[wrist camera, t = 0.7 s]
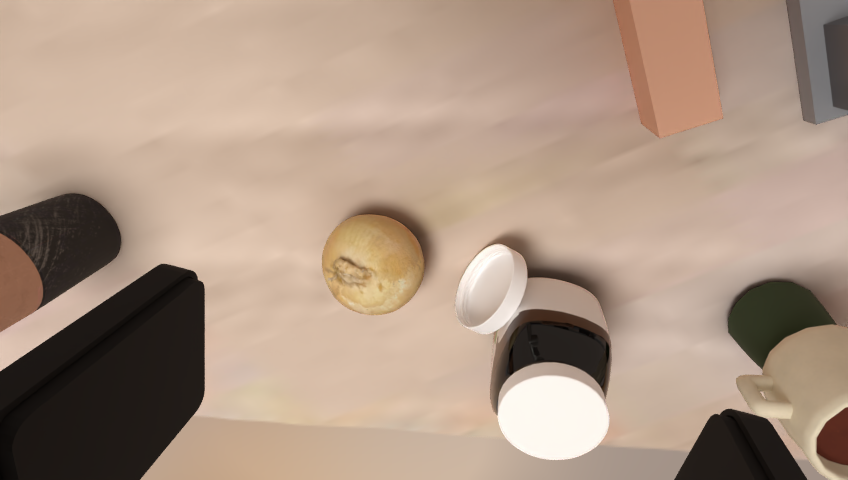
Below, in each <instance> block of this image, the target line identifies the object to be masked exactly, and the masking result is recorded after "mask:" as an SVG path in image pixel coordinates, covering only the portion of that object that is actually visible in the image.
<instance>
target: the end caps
mask: <svg viewBox="0 0 848 480" xmlns="http://www.w3.org/2000/svg"><path fill="white" fill-rule="evenodd" d="M823 28H824V37H825V45H826V53H827V61H828V69H829V77H830V86H831V94H832V102H833V107H836V108H840V109H844V110H848V16H846V17H843V18H840V19H838V20H835V21H832V22H829V23H827V24H824V25H823Z"/></svg>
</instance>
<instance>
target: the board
mask: <svg viewBox="0 0 848 480" xmlns="http://www.w3.org/2000/svg"><path fill="white" fill-rule="evenodd" d="M786 1H787V8H788V15H789V22H790V29H791V36H792V43H793V50H794V57H795V64H796V71H797V78H798V85H799V92H800V99H801V106H802V113H803V120H804V121H807V122H810V123H813V124H816V125H817V124H820V123H823V122H826V121H830V120H833V119H836V118H839V117H842V116H845V115H848V110H844V109H840V108H836V107H833V102H832V94H831V86H830V77H829V69H828V61H827V53H826V45H825V37H824V28H823V25H824V24H827V23H829V22H832V21H835V20H838V19H840V18H843V17H846V16H848V0H786Z"/></svg>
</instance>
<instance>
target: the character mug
mask: <svg viewBox="0 0 848 480" xmlns="http://www.w3.org/2000/svg"><path fill="white" fill-rule="evenodd" d="M728 332H729V334H730V335H731V336H732V337H733V339H734V340H735V341H736V342H737V343H738V345H739V346H740V347H741V348H742V349H743V350H744V351H745V352H746V354H747V355H748V356H749V357H750V358H751V359H752V360H753V361H754V362H755V363H756V364H757V365H758V366H759V367H760V368H761V369H762V370H763V375H742V376H739V377H738V378H737V379H736V384H737V387H738V389H739V391H740V393H741V394H742V396H743V397H744V399H745V401H746V402H747V404H748V406H749V407H750V409H751V410H752V411H753V412H754V413H755V414H756V415H757V416H761V417H765V418H778V420H779V421H780V422H781V424H782V425H783V427H784V429H785V430H786V432H787V433H788V435H789V436H790V437H791V439H792V440H793V441H794V442H795V443H796V444H797V445H798V446H799V447H800V448H801V449H802V451H803V452H804V454H805V455H806V457H807V458H808V460H809V461H810V463H811V464H812V466H813V467H814V468H815V469H816V470H817V471H818V473H820V474H821V475H823V476H824V477H826V478H828V479H829V480H848V327H843V326H838V325H837V324H836V323H835V322H834V320H833V319H832V317H831V316H830V315H829V313H828V312H827V311H826V309H825V308H824V307H823V306H822V304H821V303H820V302H819V301H818V299H817V298H816V297H815V296H814V295H813V294H812V292H811V291H810V290H808V289H805V288H803V287H801V286H799V285H797V284H794V283H792V282H769V283H767V284H764V285H762V286H759V287H756V288H754V289H751V290H750V291H749V292H748V293H747V294H745V295H744V296H743V297H742V298H741V299H740V300H739V301H738V302H737V303H736V304H735V306H734V308H733V310H732V312H731V314H730V316H729V318H728ZM760 391H763V392H764V395H765V398H766V399H765V398H764V397H763V396H762V394H761V393H760Z"/></svg>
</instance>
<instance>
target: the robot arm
mask: <svg viewBox="0 0 848 480" xmlns="http://www.w3.org/2000/svg"><path fill="white" fill-rule="evenodd" d="M204 391H205V289H204V284H203V282H201V281H199V280H198V278H197V275H196V273H195V272H194V271H191V270H187V269H184V268H180V267H176V266H172V265H168V264H161V265H158V266H157V267H155V268H154V269H152V270H151V271H149V272H148V273H146V274H145V275H143V276H142V277H140V278H139V279H137V280H136V281H134V282H133V283H131V284H130V285H128V286H127V287H125V288H124V289H122V290H121V291H119V292H118V293H116V294H115V295H113V296H112V297H110V298H109V299H107V300H106V301H104V302H103V303H101V304H100V305H98V306H97V307H95V308H94V309H92V310H91V311H89V312H88V313H87V314H85V315H84V316H82V317H81V318H79V319H78V320H76V321H75V322H73V323H72V324H70V325H69V326H67V327H66V328H64V329H63V330H61V331H60V332H58V333H57V334H55V335H54V336H52V337H51V338H49V339H48V340H46V341H45V342H43V343H42V344H40V345H39V346H37V347H36V348H34V349H33V350H31V351H30V352H28V353H27V354H25V355H24V356H22V357H21V358H19V359H18V360H16V361H15V362H14V363H12V364H11V365H9V366H8V367H6V368H5V369H3V370H2V371H0V480H140V479H141V478H142V477H143V475H144V474H145V473H146V472H147V470H148V469H149V468H150V467H151V466H152V464H153V463H154V462H155V461H156V459H157V458H158V457H159V456H160V455H161V453H162V452H163V451H164V450H165V449H166V447H167V446H168V445H169V444H170V443H171V441H172V440H173V439H174V438H175V437H176V435H177V434H178V433H179V432H180V431H181V429H182V428H183V427H184V426H185V424H186V423H187V422H188V421H189V420H190V418H191V417H192V416H193V415H194V414H195V412H196V411H197V410H198V408H199V406H200V405H201V402H202V400H203V397H204ZM674 480H807V478H806V477H805V475H804V474H803V472H802V471H801V469H800V467H799V466H798V464H797V463H796V461H795V460H794V458H793V456H792V455H791V453H790V452H789V450H788V449H787V447H786V446H785V444H784V442H783V441H782V439H781V438H780V436H779V435H778V433H777V432H776V430H775V429H774V427H773V425H772V424H771V423H770V422H769V421H768V419H766V418H763V417H760V416H757V415H753V414H749V413H745V412H741V411H737V410H733V409H726V410H724V411H723V412H722V413H721V414H720V415H718V414H714V415H712V416H711V417H710V418H709V420H708V421H707V423H706V425H705V427H704V428H703V430H702V432H701V434H700V435H699V437H698V439H697V441H696V442H695V444H694V446H693V448H692V449H691V451H690V453H689V455H688V456H687V458H686V460H685V462H684V464H683V465H682V467H681V469H680V471H679V472H678V474H677V476H676V478H675V479H674Z"/></svg>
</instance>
